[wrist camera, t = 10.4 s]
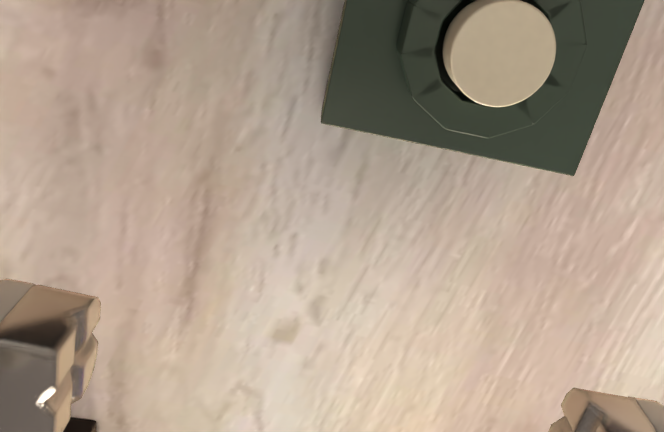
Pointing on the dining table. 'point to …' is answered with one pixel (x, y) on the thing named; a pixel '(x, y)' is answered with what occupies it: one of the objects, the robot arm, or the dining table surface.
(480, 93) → the button
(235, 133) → the dining table surface
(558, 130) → the control block
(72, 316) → the robot arm
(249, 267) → the dining table surface
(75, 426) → the switch bracket
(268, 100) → the dining table surface
